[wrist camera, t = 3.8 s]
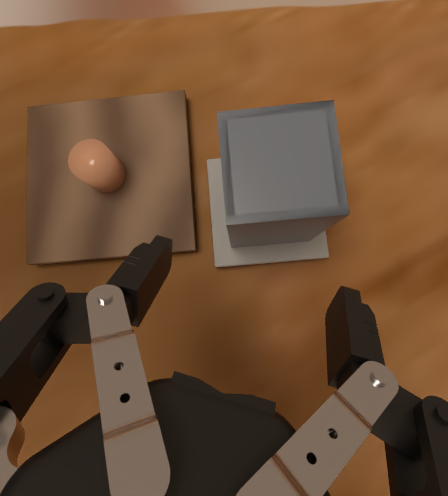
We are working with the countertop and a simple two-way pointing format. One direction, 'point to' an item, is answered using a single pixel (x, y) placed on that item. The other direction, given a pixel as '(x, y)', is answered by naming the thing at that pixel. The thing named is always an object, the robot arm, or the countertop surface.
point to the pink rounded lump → (96, 166)
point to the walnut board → (122, 200)
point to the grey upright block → (281, 173)
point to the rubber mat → (252, 254)
